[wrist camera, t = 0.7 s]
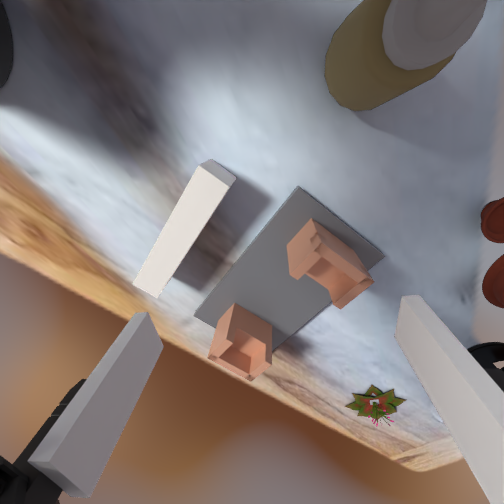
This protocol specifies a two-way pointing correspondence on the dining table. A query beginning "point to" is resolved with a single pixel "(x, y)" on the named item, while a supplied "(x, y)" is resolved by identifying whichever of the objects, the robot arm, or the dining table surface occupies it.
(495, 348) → the french press
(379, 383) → the dining table surface
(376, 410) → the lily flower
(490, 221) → the pottery
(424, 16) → the squeeze bottle
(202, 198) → the slat
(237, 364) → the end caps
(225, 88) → the dining table surface
